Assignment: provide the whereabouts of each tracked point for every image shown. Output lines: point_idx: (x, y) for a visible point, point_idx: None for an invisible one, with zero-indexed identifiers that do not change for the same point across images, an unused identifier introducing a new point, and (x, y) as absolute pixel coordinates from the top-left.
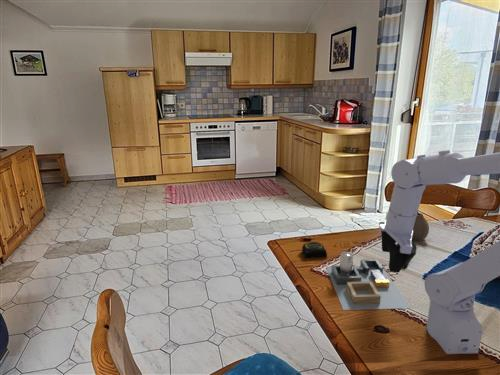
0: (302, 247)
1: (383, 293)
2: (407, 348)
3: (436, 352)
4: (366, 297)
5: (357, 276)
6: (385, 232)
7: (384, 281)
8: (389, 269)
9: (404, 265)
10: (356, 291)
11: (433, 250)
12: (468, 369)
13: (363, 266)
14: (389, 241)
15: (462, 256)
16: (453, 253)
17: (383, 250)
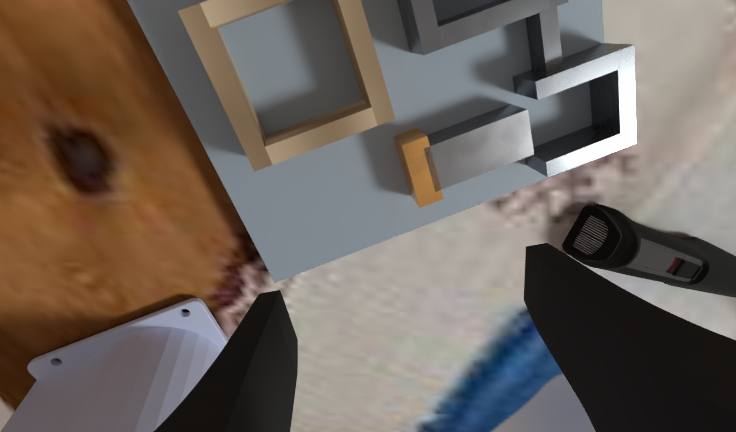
0: None
1: (351, 172)
2: (11, 262)
3: (55, 347)
4: (218, 92)
5: (432, 28)
6: (670, 415)
7: (420, 184)
8: (260, 298)
9: (594, 261)
10: (329, 27)
11: None
12: None
13: (569, 64)
14: (583, 356)
15: None
16: None
17: (530, 257)
